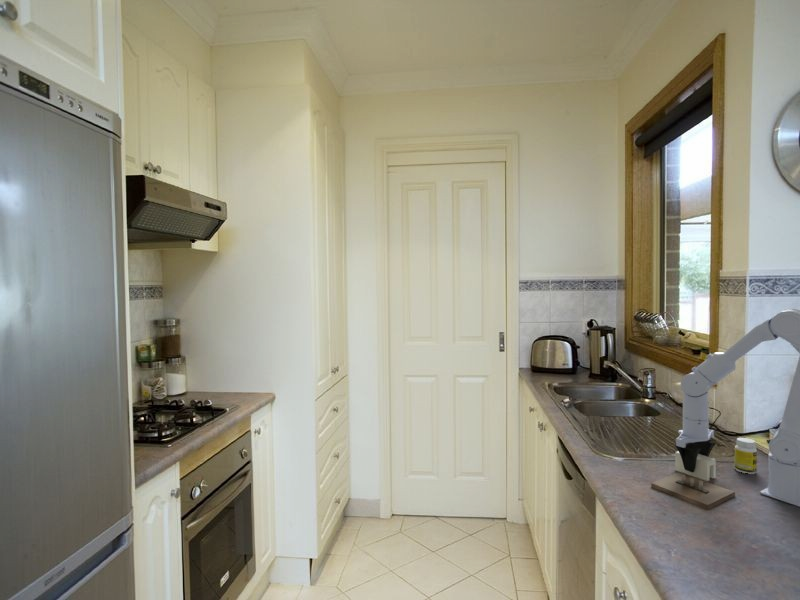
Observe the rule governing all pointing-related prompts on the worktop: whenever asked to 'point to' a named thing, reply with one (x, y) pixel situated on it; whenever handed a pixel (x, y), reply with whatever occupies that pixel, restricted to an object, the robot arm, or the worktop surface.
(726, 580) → the worktop surface
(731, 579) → the worktop surface
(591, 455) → the worktop surface
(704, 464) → the block
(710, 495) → the pin board
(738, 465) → the supplement bottle
